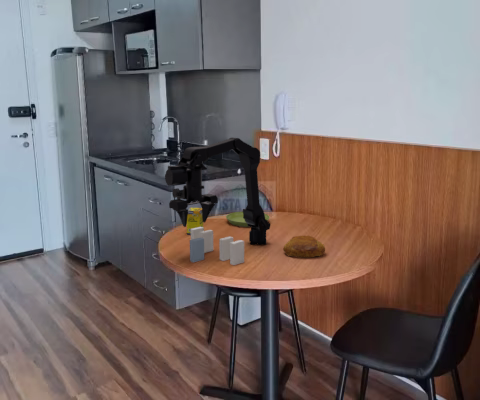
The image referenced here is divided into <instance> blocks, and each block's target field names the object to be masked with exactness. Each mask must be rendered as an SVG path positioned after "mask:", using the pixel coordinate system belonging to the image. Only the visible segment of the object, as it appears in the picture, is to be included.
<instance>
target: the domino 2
mask: <svg viewBox="0 0 480 400" xmlns="http://www.w3.org/2000/svg"><path fill="white" fill-rule="evenodd" d="M203 260H204V261H205V253H204V238H196V239H192V240H191V239H189V261H190V262H191V263H195V262H196V263H197V262H200V261H203Z"/></svg>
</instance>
